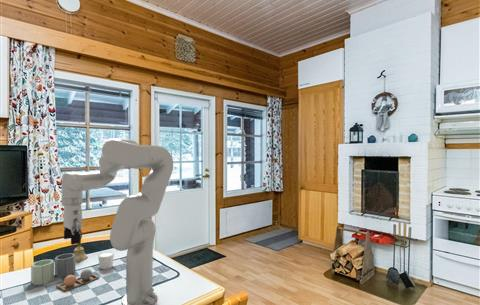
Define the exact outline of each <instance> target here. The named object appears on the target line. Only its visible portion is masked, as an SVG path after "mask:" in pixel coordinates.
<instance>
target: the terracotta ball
mask: <svg viewBox="0 0 480 305" xmlns="http://www.w3.org/2000/svg"><path fill="white" fill-rule="evenodd" d="M76 279H77V277H76V276H75V275H74V274H71V275H68V276H65V278H64V279H63V283H64V284H65V285H66V286H72V285H74V284H75V282H76Z"/></svg>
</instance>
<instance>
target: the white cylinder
mask: <svg viewBox="0 0 480 305" xmlns="http://www.w3.org/2000/svg"><path fill="white" fill-rule="evenodd" d="M98 265H99V266H98V267H99V269H100V270H108V269H110V268H112V267H113V265H114V252H112V251H107V252H102V253H99V254H98Z"/></svg>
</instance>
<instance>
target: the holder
mask: <svg viewBox="0 0 480 305" xmlns="http://www.w3.org/2000/svg"><path fill="white" fill-rule="evenodd" d="M99 278H100V276H98V275H96V274H93V273H92V276H91V277H90V278H89V279H88V280H82V279H81V277H76V282H75V284H74V285H72V286H66V285H65V284H64V282H62V283H61V284H60V283H59V284H56V288H57V289H58V290H60V291H63V292H64V293H65V292H68V291H71V290H74V289H76V288H78V287H81V286H84V285H87V284H89V283H92V282H94V281H97V280H99Z"/></svg>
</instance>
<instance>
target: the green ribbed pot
mask: <svg viewBox="0 0 480 305" xmlns="http://www.w3.org/2000/svg"><path fill="white" fill-rule="evenodd" d="M54 279H55V259H42V260H38V261H34V262H33V263H32V264H31V265H30V283H31V284H32V285H34V286H36V285H37V286H38V285H43V284H47V283H50V282H52V281H53V280H54Z"/></svg>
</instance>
